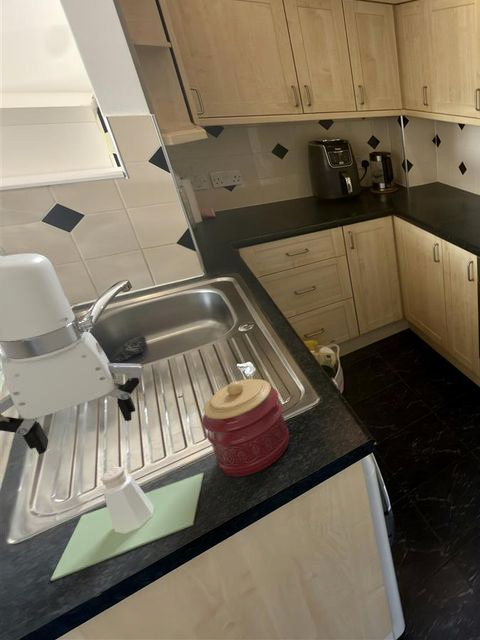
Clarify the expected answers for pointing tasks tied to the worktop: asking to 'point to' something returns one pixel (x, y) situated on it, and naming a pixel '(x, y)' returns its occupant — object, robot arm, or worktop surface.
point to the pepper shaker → (125, 501)
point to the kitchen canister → (245, 427)
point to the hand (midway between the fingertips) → (88, 431)
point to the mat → (103, 542)
